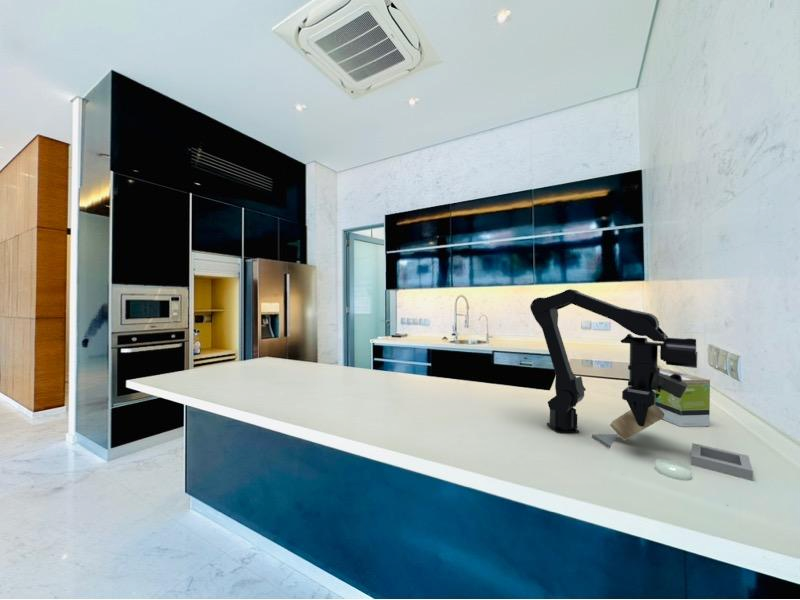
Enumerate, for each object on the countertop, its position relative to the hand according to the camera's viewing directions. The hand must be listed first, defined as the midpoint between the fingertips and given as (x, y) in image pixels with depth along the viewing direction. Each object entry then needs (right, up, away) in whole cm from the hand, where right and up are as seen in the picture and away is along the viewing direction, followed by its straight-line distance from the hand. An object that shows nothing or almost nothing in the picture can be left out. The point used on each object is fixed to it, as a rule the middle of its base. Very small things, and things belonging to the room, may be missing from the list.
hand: (642, 423), depth 84 cm
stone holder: (+11, -7, -9) cm, 16 cm away
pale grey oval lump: (-3, -7, -13) cm, 15 cm away
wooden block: (-4, -3, +3) cm, 6 cm away
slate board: (-1, -7, +1) cm, 7 cm away
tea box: (+28, -8, +24) cm, 37 cm away
